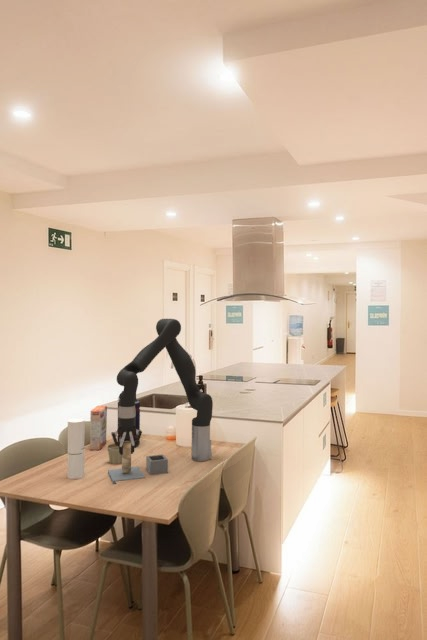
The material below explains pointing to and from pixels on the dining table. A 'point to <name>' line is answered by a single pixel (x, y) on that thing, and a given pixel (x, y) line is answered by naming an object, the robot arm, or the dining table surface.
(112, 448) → the flower pot
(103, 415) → the cracker box
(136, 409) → the grenade
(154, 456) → the grey open box
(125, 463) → the dowel
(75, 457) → the cylindrical container
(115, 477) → the board
